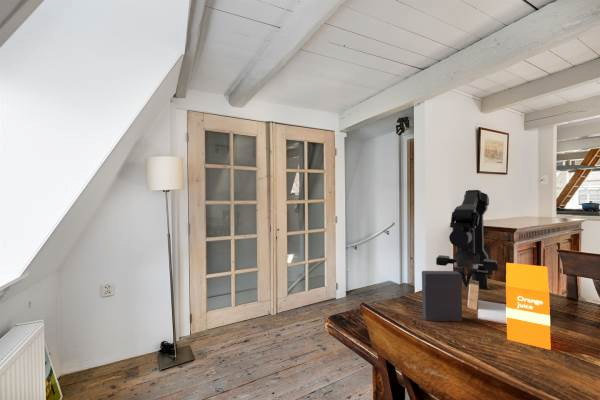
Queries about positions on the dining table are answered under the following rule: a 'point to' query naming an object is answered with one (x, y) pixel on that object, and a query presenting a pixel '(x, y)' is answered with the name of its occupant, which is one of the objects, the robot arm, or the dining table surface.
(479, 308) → the mat
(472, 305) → the tile
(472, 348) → the dining table surface
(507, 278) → the orange juice
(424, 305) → the charcoal upright rounded slab
